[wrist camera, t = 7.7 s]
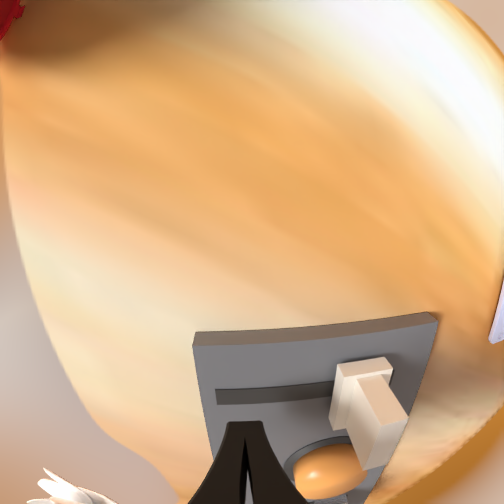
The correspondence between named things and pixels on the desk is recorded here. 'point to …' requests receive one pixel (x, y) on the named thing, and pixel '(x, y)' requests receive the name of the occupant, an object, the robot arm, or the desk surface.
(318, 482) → the push button
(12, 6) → the alarm clock
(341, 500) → the grey slider knob
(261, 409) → the panel
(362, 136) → the desk surface
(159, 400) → the desk surface
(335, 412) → the toggle lever
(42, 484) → the lotus flower
